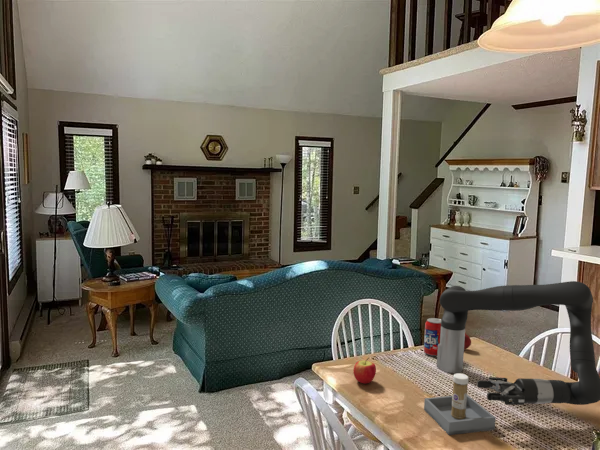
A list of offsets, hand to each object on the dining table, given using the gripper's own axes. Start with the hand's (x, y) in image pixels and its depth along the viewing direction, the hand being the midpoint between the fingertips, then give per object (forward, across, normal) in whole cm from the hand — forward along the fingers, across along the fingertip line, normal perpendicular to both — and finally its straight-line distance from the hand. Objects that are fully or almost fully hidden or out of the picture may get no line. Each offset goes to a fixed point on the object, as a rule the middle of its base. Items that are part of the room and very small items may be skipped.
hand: (482, 390), depth 153 cm
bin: (+7, 0, +10) cm, 12 cm away
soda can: (0, -55, +10) cm, 56 cm away
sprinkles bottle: (+7, 0, +9) cm, 12 cm away
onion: (-15, -61, +10) cm, 64 cm away
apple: (+34, -26, +10) cm, 44 cm away
